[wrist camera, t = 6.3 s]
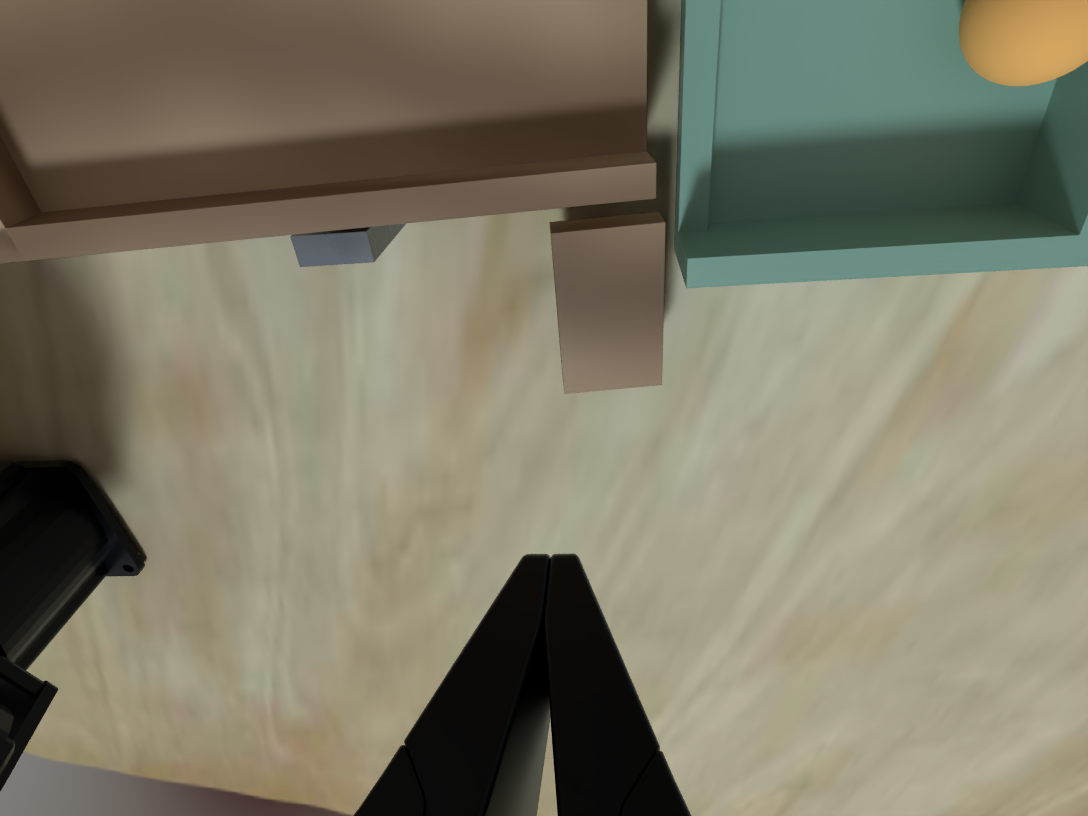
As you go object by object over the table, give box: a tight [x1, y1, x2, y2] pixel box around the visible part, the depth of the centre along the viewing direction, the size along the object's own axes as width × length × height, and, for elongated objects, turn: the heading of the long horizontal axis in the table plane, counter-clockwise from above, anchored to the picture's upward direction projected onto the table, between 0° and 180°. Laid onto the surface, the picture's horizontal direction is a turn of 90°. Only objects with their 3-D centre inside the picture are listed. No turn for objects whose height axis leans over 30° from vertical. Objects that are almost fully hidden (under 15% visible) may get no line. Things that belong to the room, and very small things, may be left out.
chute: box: [0, 0, 665, 394], centre depth 15 cm, size 12×16×2 cm
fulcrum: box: [291, 223, 406, 267], centre depth 15 cm, size 8×2×4 cm, turn 5°
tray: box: [674, 0, 1088, 288], centre depth 14 cm, size 11×10×3 cm
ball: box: [959, 0, 1088, 86], centre depth 13 cm, size 3×3×3 cm
